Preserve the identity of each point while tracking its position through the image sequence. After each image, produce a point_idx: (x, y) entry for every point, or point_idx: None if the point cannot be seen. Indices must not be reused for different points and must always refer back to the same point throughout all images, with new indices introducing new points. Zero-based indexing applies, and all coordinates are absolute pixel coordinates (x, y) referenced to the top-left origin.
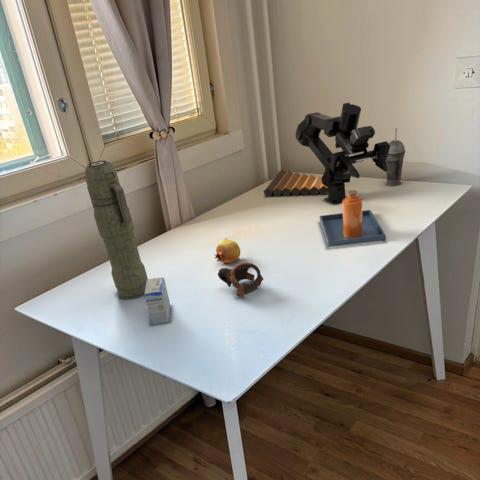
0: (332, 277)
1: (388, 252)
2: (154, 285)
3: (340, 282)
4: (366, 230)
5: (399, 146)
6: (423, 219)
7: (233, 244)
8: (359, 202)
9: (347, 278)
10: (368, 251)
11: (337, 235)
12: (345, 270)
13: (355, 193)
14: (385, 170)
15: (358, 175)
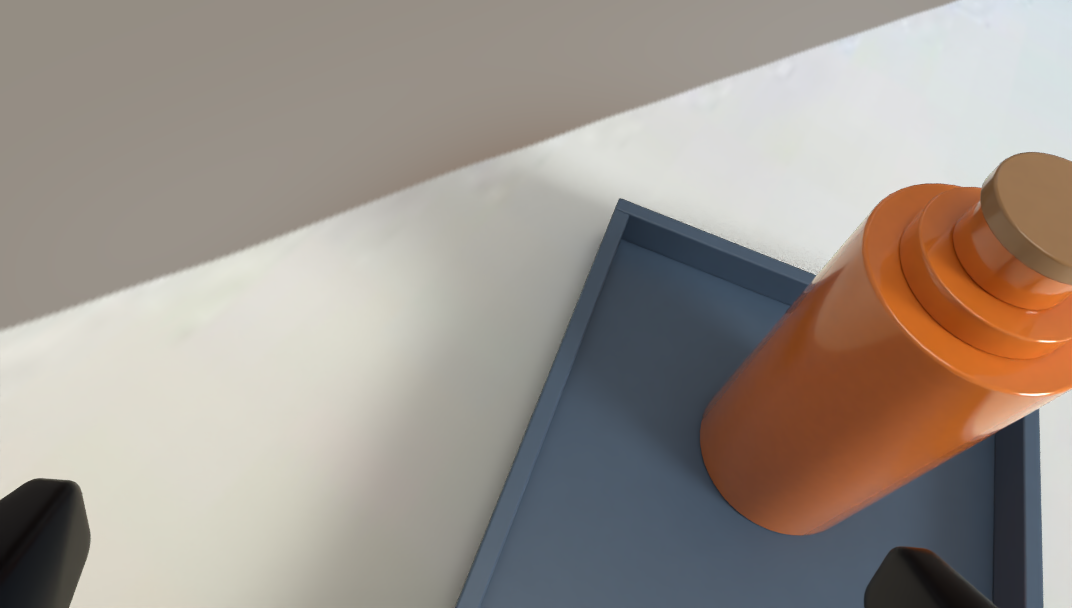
0: (1023, 111)
1: (661, 132)
2: None
3: (994, 63)
4: (644, 445)
5: None
6: (30, 381)
7: None
8: (917, 186)
9: (956, 69)
10: (759, 206)
11: (904, 515)
12: (948, 124)
13: (1026, 157)
14: (84, 525)
15: (926, 551)
